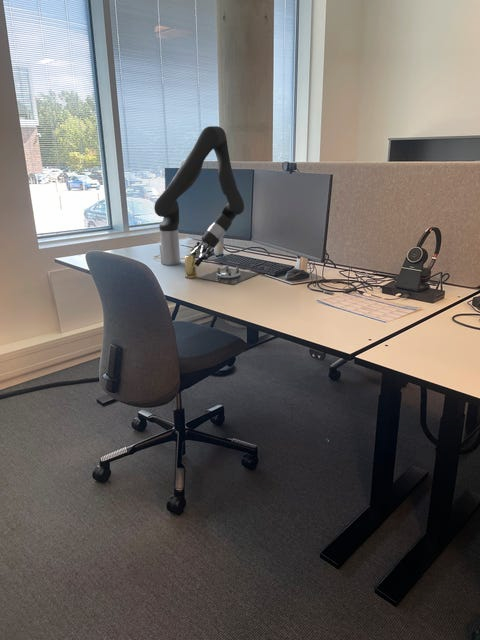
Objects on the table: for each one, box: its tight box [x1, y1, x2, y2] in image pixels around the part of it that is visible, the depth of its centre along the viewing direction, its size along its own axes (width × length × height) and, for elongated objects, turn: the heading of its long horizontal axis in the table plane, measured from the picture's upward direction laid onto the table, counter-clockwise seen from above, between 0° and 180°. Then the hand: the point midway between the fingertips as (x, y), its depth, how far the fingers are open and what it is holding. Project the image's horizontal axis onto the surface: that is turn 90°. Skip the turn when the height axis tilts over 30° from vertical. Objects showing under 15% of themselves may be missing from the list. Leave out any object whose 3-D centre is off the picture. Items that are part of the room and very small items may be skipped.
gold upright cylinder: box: [184, 254, 198, 280], centre depth 207 cm, size 5×5×10 cm
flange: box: [197, 264, 260, 286], centre depth 208 cm, size 20×20×4 cm
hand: (192, 263), depth 207 cm, fingers open, 8 cm apart
